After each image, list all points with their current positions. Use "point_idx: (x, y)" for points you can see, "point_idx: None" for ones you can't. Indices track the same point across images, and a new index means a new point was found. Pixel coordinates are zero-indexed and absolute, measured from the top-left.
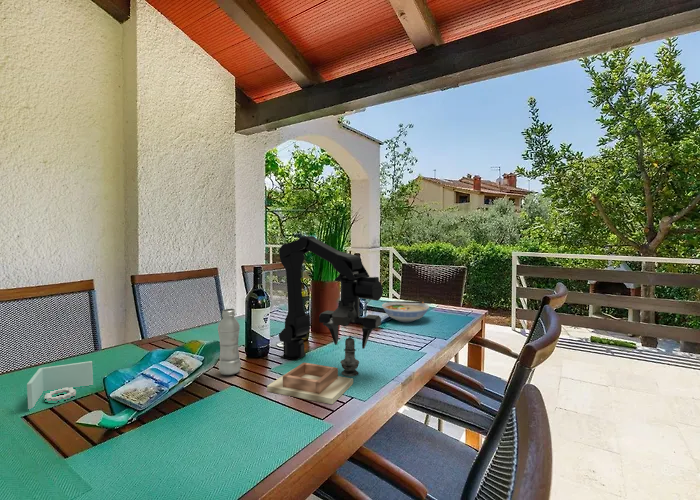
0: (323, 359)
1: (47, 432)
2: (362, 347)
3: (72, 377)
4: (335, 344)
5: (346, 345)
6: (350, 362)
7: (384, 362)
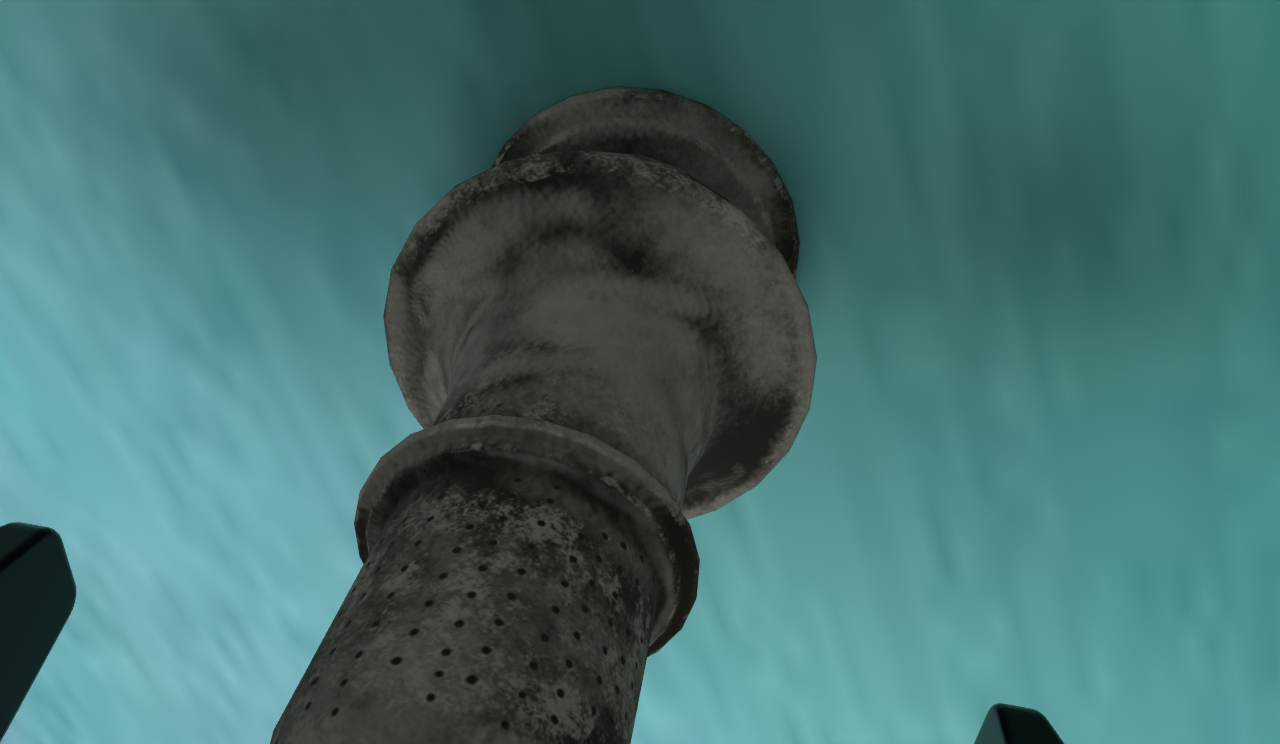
0: (1259, 698)
1: None
2: (14, 541)
3: None
4: (1018, 711)
5: (549, 601)
6: (519, 254)
7: None
